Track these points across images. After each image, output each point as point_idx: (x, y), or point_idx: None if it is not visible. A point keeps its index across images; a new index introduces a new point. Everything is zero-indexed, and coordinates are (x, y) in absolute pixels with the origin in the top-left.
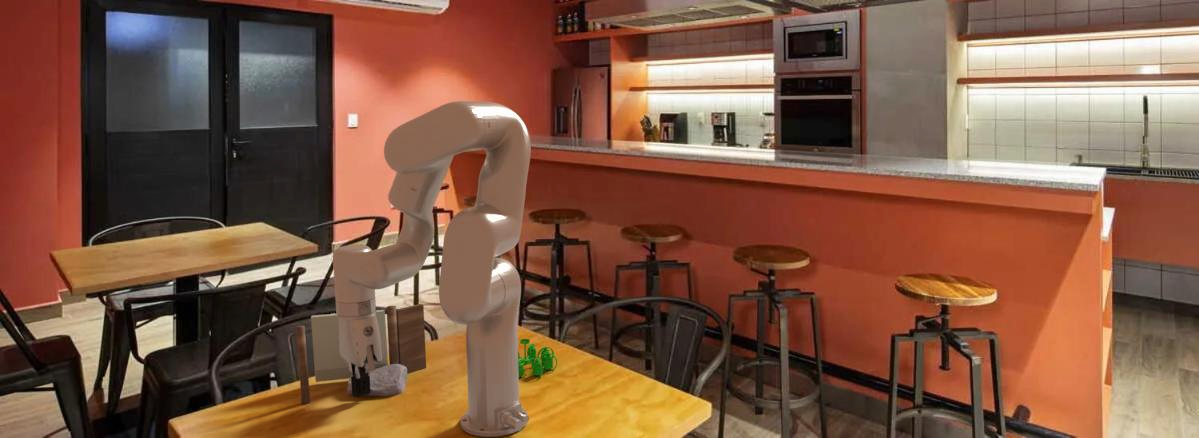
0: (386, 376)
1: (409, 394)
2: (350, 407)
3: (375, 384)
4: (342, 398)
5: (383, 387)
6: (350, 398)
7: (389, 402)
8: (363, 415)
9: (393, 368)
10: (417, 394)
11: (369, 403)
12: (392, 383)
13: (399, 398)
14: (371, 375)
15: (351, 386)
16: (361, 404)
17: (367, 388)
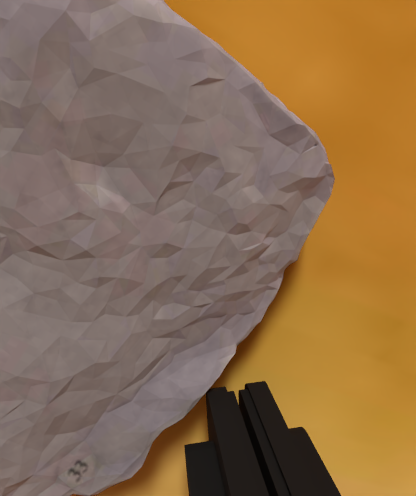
0: (164, 216)
1: (354, 99)
2: None
3: (191, 325)
4: None
5: (269, 281)
6: None
7: (368, 270)
8: (410, 440)
9: (63, 77)
10: (399, 49)
11: (290, 370)
12: (298, 210)
13: (362, 191)
14: (33, 328)
15: (104, 484)
16: None
17: (308, 440)
